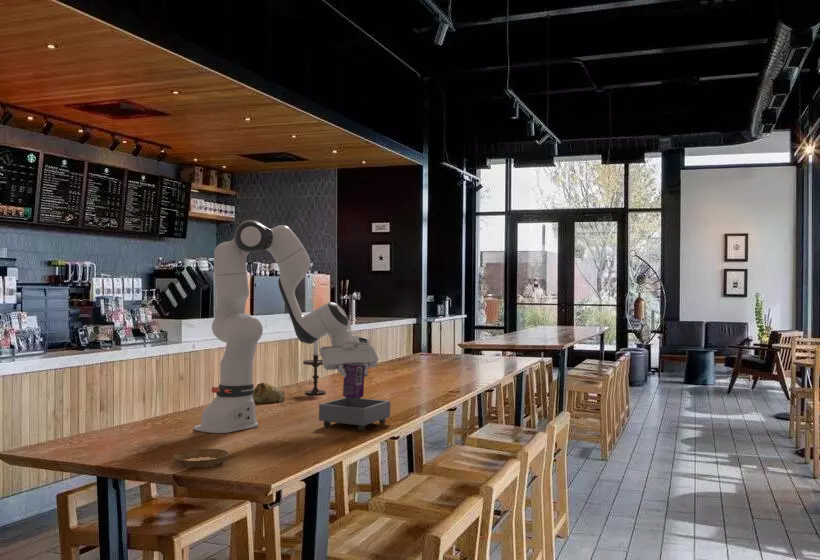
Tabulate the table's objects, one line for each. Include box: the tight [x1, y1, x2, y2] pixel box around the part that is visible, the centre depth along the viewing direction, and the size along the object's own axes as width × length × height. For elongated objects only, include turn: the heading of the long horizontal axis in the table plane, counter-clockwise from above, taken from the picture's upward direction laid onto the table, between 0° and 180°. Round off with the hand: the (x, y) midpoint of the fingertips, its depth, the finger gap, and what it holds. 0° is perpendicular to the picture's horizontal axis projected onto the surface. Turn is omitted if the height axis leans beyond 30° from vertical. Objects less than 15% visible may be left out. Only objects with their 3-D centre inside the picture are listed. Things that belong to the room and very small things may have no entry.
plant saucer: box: [173, 448, 229, 468], centre depth 207 cm, size 15×15×3 cm
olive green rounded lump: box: [253, 382, 286, 404], centre depth 310 cm, size 14×12×8 cm
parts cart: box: [318, 397, 391, 432], centre depth 260 cm, size 18×18×8 cm
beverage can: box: [342, 363, 365, 399], centre depth 260 cm, size 7×7×12 cm
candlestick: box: [302, 339, 327, 396], centre depth 329 cm, size 11×11×35 cm
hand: (356, 376), depth 260 cm, fingers closed on beverage can, 6 cm apart
